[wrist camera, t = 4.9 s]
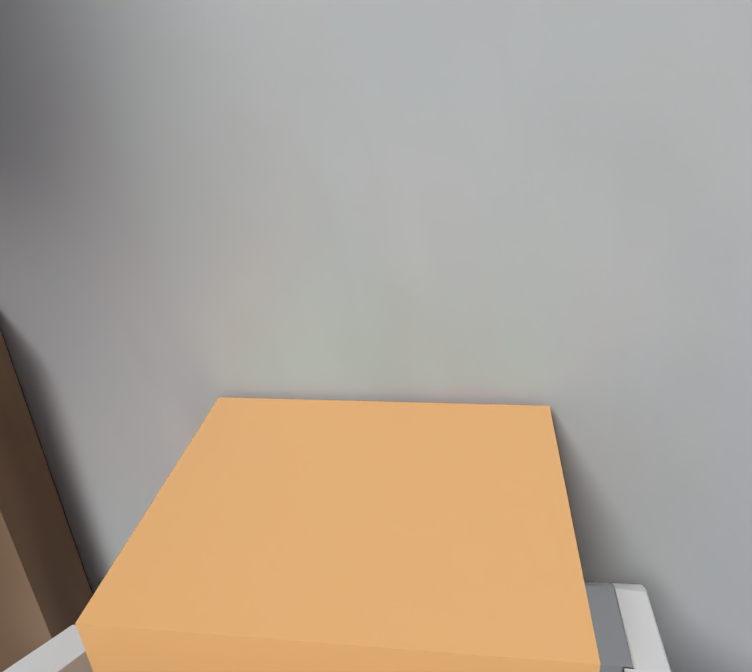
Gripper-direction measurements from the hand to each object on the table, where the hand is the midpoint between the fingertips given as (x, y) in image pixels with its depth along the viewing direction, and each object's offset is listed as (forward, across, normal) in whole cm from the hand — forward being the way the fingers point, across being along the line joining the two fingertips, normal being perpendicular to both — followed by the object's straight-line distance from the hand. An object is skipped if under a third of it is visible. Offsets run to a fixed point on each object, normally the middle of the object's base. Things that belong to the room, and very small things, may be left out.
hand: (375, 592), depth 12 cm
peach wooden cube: (+2, 0, 0) cm, 2 cm away
